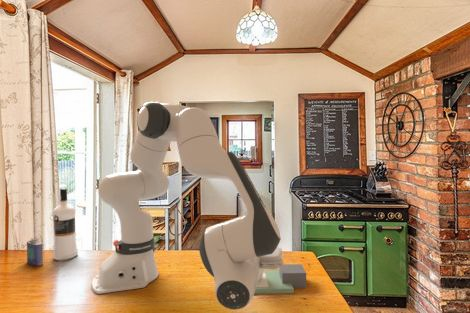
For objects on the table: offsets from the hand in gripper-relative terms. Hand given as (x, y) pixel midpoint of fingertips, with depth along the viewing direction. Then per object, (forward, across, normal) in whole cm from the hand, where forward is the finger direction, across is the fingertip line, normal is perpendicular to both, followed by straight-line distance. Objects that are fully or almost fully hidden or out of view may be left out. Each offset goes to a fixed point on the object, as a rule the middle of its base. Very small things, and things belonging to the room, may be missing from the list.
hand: (248, 245), depth 89 cm
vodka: (+24, +83, +17) cm, 88 cm away
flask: (+15, +91, +17) cm, 94 cm away
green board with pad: (+12, -4, +17) cm, 21 cm away
